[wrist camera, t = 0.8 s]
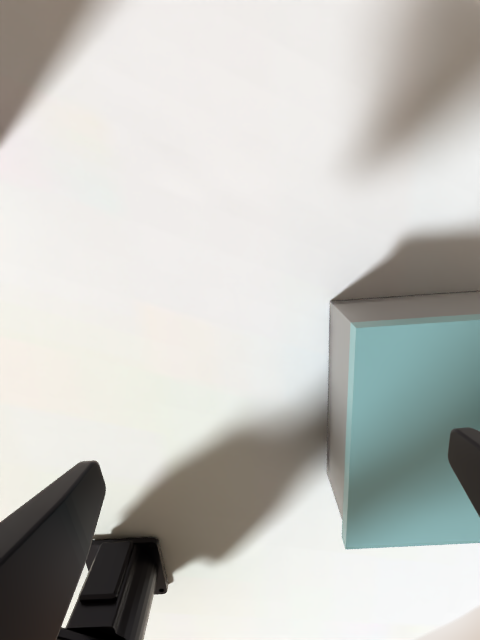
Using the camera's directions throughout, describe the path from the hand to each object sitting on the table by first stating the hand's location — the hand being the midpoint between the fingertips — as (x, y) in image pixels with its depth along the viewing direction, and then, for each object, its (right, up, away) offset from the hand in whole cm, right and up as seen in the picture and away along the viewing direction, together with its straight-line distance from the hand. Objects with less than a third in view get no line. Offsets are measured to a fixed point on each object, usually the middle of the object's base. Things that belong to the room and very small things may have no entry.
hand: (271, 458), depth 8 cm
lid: (+11, -3, +11) cm, 16 cm away
